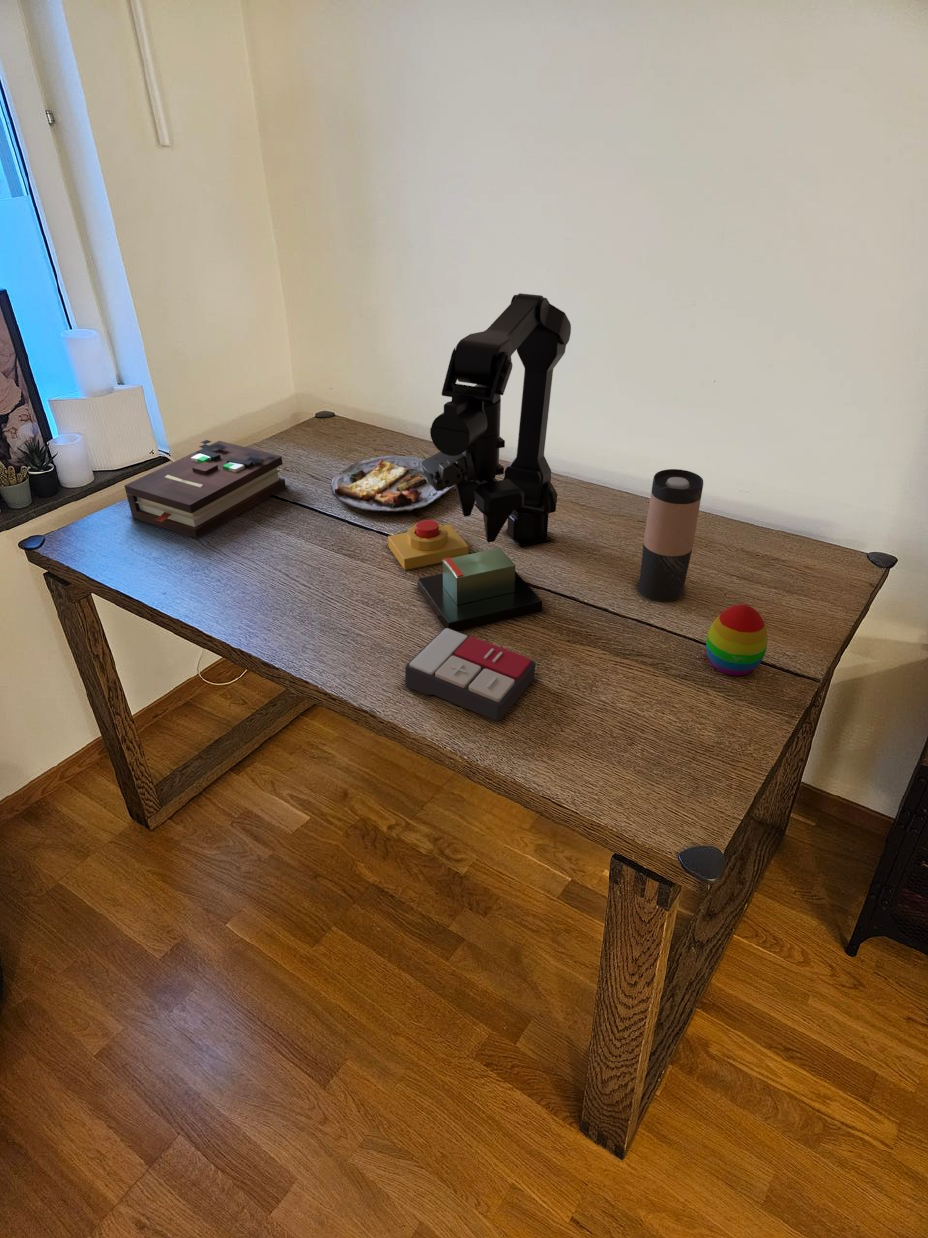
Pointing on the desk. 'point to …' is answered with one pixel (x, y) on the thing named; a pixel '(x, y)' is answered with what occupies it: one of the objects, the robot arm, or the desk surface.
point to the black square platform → (478, 604)
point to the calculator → (470, 673)
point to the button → (427, 529)
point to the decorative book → (205, 488)
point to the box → (478, 576)
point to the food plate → (385, 485)
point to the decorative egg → (737, 640)
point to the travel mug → (669, 533)
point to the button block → (427, 547)
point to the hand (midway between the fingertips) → (478, 528)
